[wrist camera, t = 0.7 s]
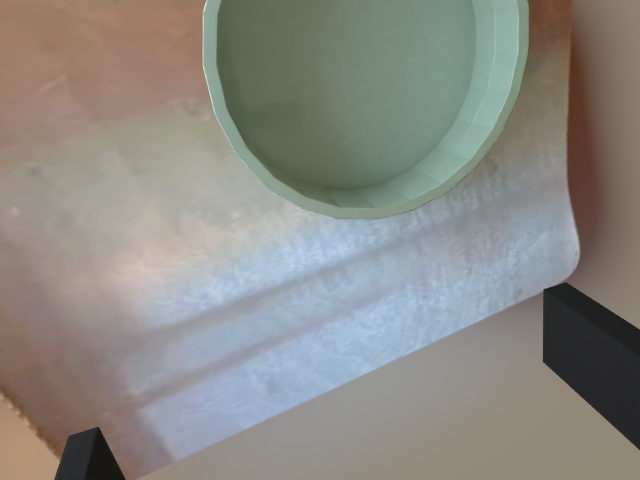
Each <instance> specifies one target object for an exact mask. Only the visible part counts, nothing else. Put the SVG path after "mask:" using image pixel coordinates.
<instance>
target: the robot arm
mask: <svg viewBox="0 0 640 480" xmlns="http://www.w3.org/2000/svg"><path fill="white" fill-rule="evenodd" d="M543 294H544V296H543V297H544V298H543V362H544V363H545V364H546V365H547V366H548V367H549V368H550V369H551V370H553V371H554V372H555V373H556V374H557V375H558V376H559V377H560V378H562V380H564V381H565V382H566V383H567V384H568V385H569V386H570V387H571V388H572V389H573V390H574V391H576V392H577V393H578V394H579V395H580V396H581V397H582V398H583V399H585V401H587V402H588V403H589V404H590V405H591V406H592V407H593V408H594V409H595V410H597V411H598V412H599V413H600V414H601V415H602V416H603V417H604V418H605V419H606V420H608V422H610V423H611V424H612V425H613V426H614V427H615V428H616V429H617V430H618V431H619V432H621V433H622V434H623V435H624V436H625V437H626V438H627V439H628V440H629V441H631V443H633V444H634V445H635V446H636V447H637V448H638V449H639V450H640V329H638V328H636V327H635V326H633V325H632V324H630V323H629V322H627V321H626V320H624V319H622V318H621V317H619V316H618V315H616V314H615V313H613V312H611V311H610V310H608V309H607V308H605V307H604V306H602V305H600V304H599V303H597V302H596V301H594V300H593V299H591V298H590V297H588V296H586V295H585V294H583V293H582V292H580V291H579V290H577V289H576V288H574V287H572V286H571V285H569V284H568V283H562V284H559V285H556V286H553V287H550V288H546V289H544V291H543ZM54 480H125V478H124V476H123V474H122V472H121V470H120V468H119V466H118V464H117V462H116V460H115V458H114V456H113V454H112V452H111V450H110V448H109V446H108V444H107V442H106V440H105V438H104V436H103V434H102V432H101V430H100V428H99V427H96V428H93V429H90V430H87V431H83V432H80V433H77V434H74V435H70V436H69V437H68V440H67V443H66V446H65V449H64V452H63V455H62V458H61V461H60V464H59V467H58V470H57V473H56V476H55V479H54Z"/></svg>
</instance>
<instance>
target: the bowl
mask: <svg viewBox="0 0 640 480" xmlns="http://www.w3.org/2000/svg"><path fill="white" fill-rule="evenodd" d="M528 5H529V4H528V0H206V3H205V7H204V11H203V20H202V66H203V70H204V74H205V78H206V82H207V86H208V90H209V94H210V98H211V102H212V106H213V110H214V113H215V116H216V118H217V120H218V122H219V123H220V125H221V127H222V129H223V131H224V133H225V134H226V136H227V138H228V140H229V142H230V144H231V146H232V147H233V149H234V151H235V153H236V154H237V156H238V157H239V158H240V159H241V160H242V161H243V162H244V164H245V165H246V166H247V167H248V168H249V169H250V170H251V171H252V172H253V173H254V174H255V175H256V176H257V177H258V178H259V179H260V181H261V182H262V183H263V184H264V185H265V186H267V187H268V188H269V189H271V190H273V191H274V192H276V193H277V194H279V195H281V196H282V197H284V198H286V199H287V200H289V201H290V202H292V203H294V204H295V205H297V206H299V207H301V208H302V209H306V210H309V211H313V212H316V213H320V214H323V215H327V216H330V217H333V218H337V219H338V218H339V219H380V218H384V217H388V216H392V215H396V214H400V213H404V212H409V211H412V210H414V209H416V208H418V207H420V206H422V205H424V204H426V203H428V202H430V201H432V200H433V199H435V198H437V197H439V196H441V195H443V194H445V193H446V192H448V191H449V190H450V189H452V188H453V187H454V186H455V185H456V184H457V183H458V182H460V181H461V180H462V179H463V178H464V177H465V176H466V175H468V174H469V173H470V172H471V171H472V170H473V169H475V168H476V166H477V165H478V164H479V163H480V161H481V160H482V159H483V157H484V156H485V155H486V153H487V152H488V151H489V149H490V148H491V147H492V145H493V144H494V142H495V141H496V140H497V138H498V137H499V136H500V134H501V133H502V131H503V129H504V126H505V124H506V122H507V120H508V118H509V115H510V113H511V111H512V109H513V107H514V104H515V102H516V100H517V98H518V96H519V95H518V94H519V93H520V88H521V84H522V79H523V75H524V70H525V66H526V61H527V57H528V51H529V6H528Z"/></svg>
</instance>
